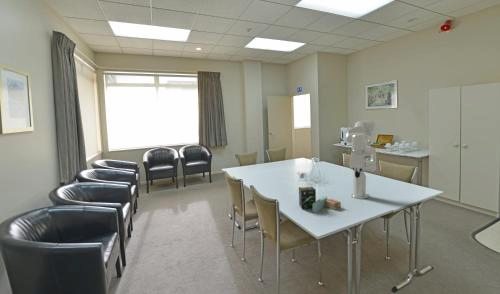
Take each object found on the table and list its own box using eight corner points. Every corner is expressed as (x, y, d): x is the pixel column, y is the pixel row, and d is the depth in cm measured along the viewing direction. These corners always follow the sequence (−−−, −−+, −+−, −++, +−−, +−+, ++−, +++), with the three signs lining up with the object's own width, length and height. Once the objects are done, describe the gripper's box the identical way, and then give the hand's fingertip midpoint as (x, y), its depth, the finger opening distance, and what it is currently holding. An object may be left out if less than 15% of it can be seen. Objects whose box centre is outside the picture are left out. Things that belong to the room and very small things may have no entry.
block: (332, 204, 187) (332, 198, 187) (340, 208, 179) (340, 201, 179) (324, 206, 185) (324, 200, 184) (333, 210, 176) (333, 203, 176)
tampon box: (312, 204, 189) (312, 186, 188) (316, 208, 180) (316, 189, 179) (298, 204, 189) (298, 186, 187) (301, 209, 180) (301, 190, 178)
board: (323, 203, 190) (323, 196, 189) (327, 204, 188) (327, 196, 187) (312, 211, 175) (312, 203, 174) (316, 212, 173) (316, 204, 172)
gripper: (370, 151, 166) (370, 177, 169) (348, 150, 176) (348, 174, 179) (367, 153, 161) (367, 180, 163) (344, 152, 170) (344, 177, 173)
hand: (357, 177), depth 171 cm, fingers closed
